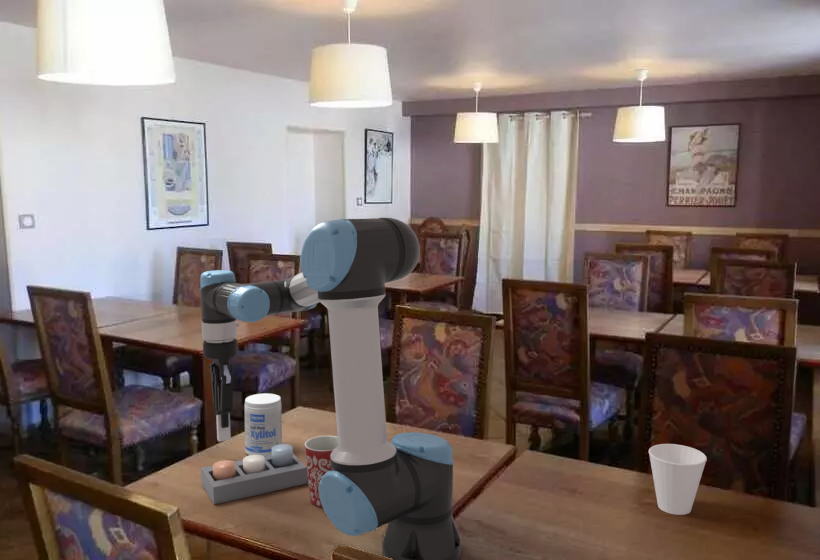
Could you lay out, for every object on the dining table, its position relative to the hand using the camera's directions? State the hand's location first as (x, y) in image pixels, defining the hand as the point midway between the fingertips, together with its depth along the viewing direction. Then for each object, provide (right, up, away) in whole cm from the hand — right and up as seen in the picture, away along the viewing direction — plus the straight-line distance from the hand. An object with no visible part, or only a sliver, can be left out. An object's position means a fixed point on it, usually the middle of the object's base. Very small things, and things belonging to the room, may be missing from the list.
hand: (224, 439), depth 158 cm
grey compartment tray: (+6, -12, +5) cm, 14 cm away
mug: (+25, -13, -2) cm, 28 cm away
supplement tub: (+4, -9, +25) cm, 26 cm away
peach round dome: (0, -9, +1) cm, 10 cm away
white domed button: (+6, -9, +5) cm, 12 cm away
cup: (+101, -14, -7) cm, 102 cm away
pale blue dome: (+12, -7, +8) cm, 16 cm away
